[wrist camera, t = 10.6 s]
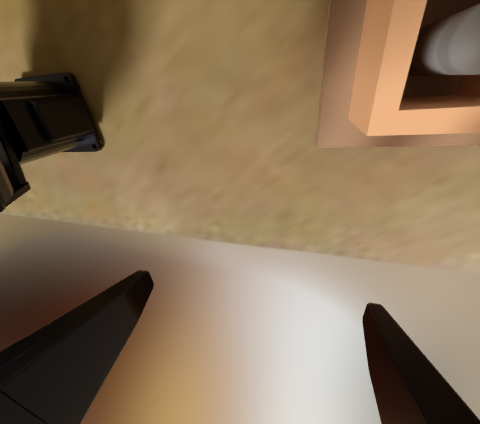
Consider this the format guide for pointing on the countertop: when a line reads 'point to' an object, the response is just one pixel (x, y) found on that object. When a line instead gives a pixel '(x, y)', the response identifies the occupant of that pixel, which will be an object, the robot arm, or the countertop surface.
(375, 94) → the collar
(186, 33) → the countertop surface
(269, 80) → the countertop surface
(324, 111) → the post stand
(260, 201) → the countertop surface
